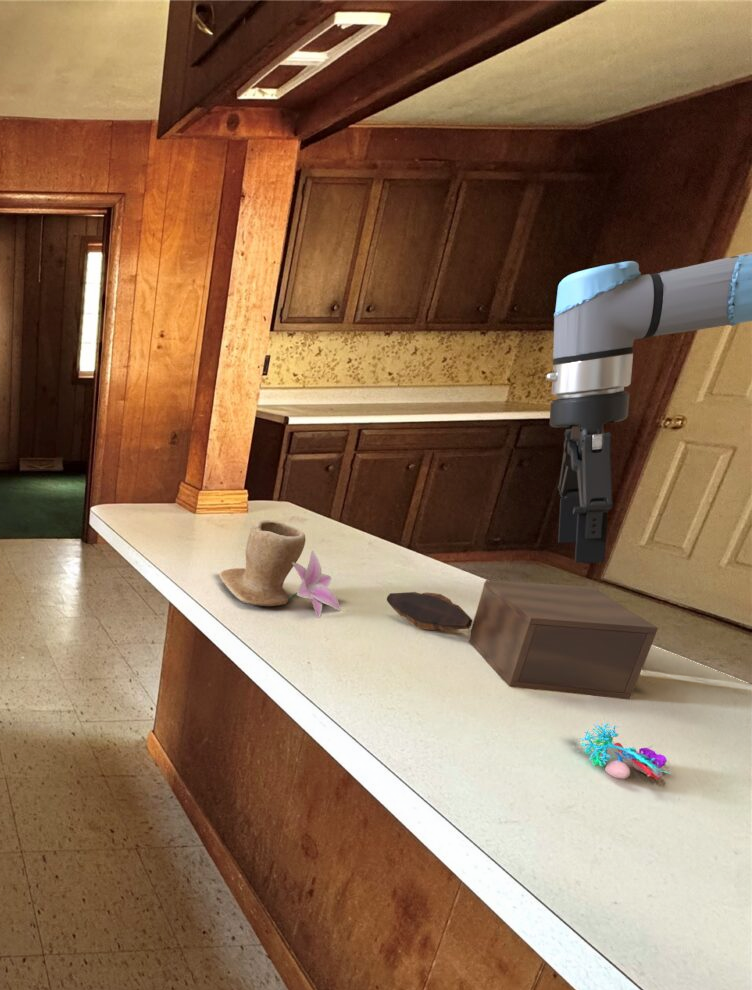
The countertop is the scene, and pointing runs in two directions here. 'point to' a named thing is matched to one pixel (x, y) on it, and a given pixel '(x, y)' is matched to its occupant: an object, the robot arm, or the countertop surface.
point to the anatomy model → (641, 761)
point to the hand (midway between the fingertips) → (579, 551)
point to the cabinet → (561, 638)
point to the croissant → (429, 611)
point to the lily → (315, 585)
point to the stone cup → (266, 564)
